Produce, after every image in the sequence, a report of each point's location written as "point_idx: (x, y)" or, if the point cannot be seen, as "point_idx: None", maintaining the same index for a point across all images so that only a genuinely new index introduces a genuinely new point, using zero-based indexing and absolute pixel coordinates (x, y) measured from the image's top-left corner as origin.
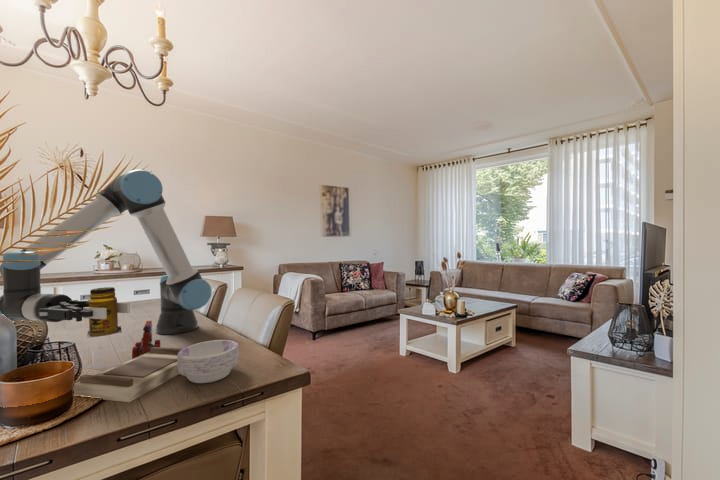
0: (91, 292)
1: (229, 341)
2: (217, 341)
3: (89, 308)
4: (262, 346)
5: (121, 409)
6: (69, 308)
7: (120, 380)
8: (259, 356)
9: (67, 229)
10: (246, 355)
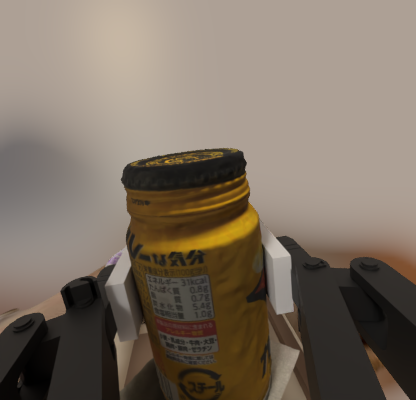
0: (246, 163)
1: (117, 255)
2: None
3: (274, 238)
4: (11, 316)
5: (295, 308)
6: (365, 355)
7: None
8: None
9: None
10: (64, 310)
